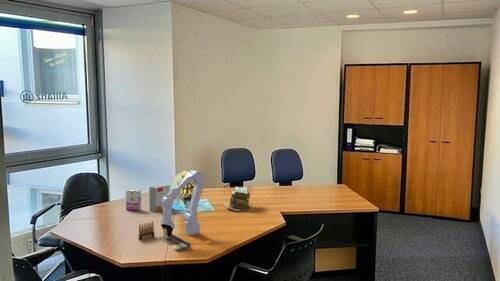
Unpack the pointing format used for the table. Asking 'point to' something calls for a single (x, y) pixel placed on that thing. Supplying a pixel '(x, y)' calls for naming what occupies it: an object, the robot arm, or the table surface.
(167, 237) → the block
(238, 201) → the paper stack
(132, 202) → the candy bar box
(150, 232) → the ammunition clip
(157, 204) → the hard drive box
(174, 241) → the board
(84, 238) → the table surface
